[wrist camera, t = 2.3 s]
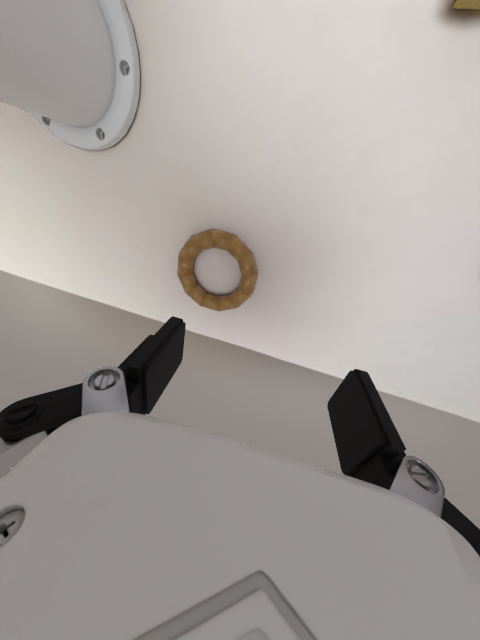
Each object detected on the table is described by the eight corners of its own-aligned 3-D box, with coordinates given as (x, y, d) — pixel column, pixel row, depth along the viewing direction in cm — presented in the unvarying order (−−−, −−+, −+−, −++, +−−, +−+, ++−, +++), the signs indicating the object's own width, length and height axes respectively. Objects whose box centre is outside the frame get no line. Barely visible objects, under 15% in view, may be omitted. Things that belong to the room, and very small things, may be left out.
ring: (178, 294, 28) (172, 300, 27) (185, 219, 23) (178, 220, 22) (246, 314, 28) (244, 321, 26) (267, 242, 23) (266, 246, 21)
